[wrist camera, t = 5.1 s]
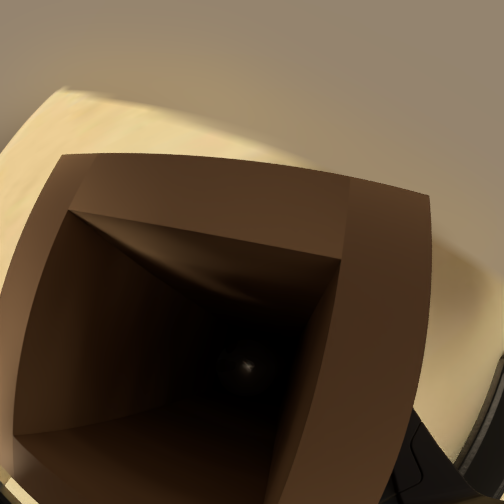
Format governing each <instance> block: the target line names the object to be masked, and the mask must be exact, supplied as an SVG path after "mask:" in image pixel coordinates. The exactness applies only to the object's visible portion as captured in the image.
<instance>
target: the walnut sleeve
mask: <svg viewBox="0 0 504 504" xmlns="http://www.w3.org/2000/svg"><path fill="white" fill-rule="evenodd" d="M431 273H432V234H431V213H430V200H429V196H428V195H424V194H421V193H417V192H414V191H410V190H406V189H402V188H398V187H394V186H390V185H386V184H381V183H377V182H373V181H368V180H363V179H359V178H354V177H349V176H344V175H339V174H334V173H328V172H323V171H317V170H311V169H305V168H299V167H292V166H285V165H278V164H271V163H263V162H255V161H246V160H237V159H227V158H216V157H204V156H190V155H172V154H145V153H92V154H67V155H62V156H61V157H60V159H59V161H58V162H57V164H56V166H55V167H54V169H53V171H52V173H51V174H50V176H49V178H48V180H47V182H46V183H45V185H44V187H43V189H42V191H41V193H40V195H39V197H38V199H37V201H36V203H35V205H34V207H33V209H32V211H31V213H30V215H29V218H28V220H27V222H26V224H25V227H24V229H23V231H22V234H21V236H20V239H19V241H18V244H17V246H16V249H15V252H14V254H13V257H12V260H11V263H10V266H9V268H8V271H7V275H6V278H5V281H4V284H3V288H2V291H1V295H0V465H1V466H2V467H3V468H4V469H5V470H6V471H7V473H8V474H9V475H10V476H11V477H12V478H13V479H14V480H15V481H16V482H17V483H18V484H19V485H20V486H21V487H22V488H23V489H24V490H25V491H26V492H27V493H28V494H29V495H30V496H31V497H32V498H33V499H34V500H36V501H37V502H38V503H39V504H378V503H379V501H380V499H381V496H382V494H383V492H384V490H385V487H386V485H387V483H388V480H389V478H390V475H391V473H392V470H393V468H394V465H395V463H396V460H397V457H398V454H399V451H400V449H401V446H402V443H403V439H404V436H405V433H406V430H407V426H408V423H409V419H410V416H411V412H412V408H413V404H414V400H415V396H416V392H417V387H418V383H419V378H420V373H421V368H422V362H423V356H424V350H425V343H426V336H427V328H428V318H429V308H430V294H431ZM229 325H231V326H235V327H239V328H243V329H247V330H251V331H256V332H260V333H264V334H269V335H273V336H278V337H282V338H287V339H292V340H297V342H296V347H295V351H294V355H293V359H292V363H291V367H290V371H289V375H288V379H287V383H286V386H285V390H284V394H283V398H282V401H281V405H280V407H276V406H272V405H267V404H263V403H259V402H255V401H251V400H247V399H243V398H239V397H236V396H232V395H228V394H225V393H222V392H218V391H215V390H212V386H213V383H214V379H215V375H216V371H217V361H218V358H219V356H220V354H221V352H222V349H223V345H224V342H225V338H226V334H227V331H228V327H229Z"/></svg>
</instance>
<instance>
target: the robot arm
mask: <svg viewBox="0 0 504 504" xmlns="http://www.w3.org/2000/svg"><path fill="white" fill-rule="evenodd" d="M10 478H11V476H10V475H9V474H8V473H7V471H6V470H5V469H4V468H3V467H2V466H1V465H0V504H22V503H21V502H20V501H19V500H18V499H17V498H16V497H15V496H14V495H13V494H12V493H11V492H10V491H9V490H8V489H7V488H6V487H5V484H6V483H7V482H8V480H9V479H10ZM378 504H504V501H502V500H498V499H494V498H491V497H487V496H484V495H482V494H480V493H478V492H477V491H475V490H474V489H473V488H472V487H471V486H470V485H469V484H468V483H467V481H466V480H465V479H464V478H463V476H462V475H461V474H460V472H459V471H458V470H457V469H456V467H455V466H454V465H453V464H452V462H451V461H450V460H449V459H448V457H447V456H446V455H445V453H444V452H443V451H442V449H441V448H440V447H439V446H438V444H437V443H436V441H435V440H434V438H433V437H432V435H431V434H430V433H429V431H428V429H427V428H426V426H425V425H424V423H423V422H421V419H420V417H419V416H418V414H417V413H416V411H415V410H414V408H412V412H411V416H410V419H409V423H408V426H407V430H406V433H405V436H404V439H403V443H402V446H401V449H400V451H399V454H398V457H397V460H396V463H395V465H394V468H393V470H392V473H391V475H390V478H389V480H388V483H387V485H386V487H385V490H384V492H383V494H382V496H381V499H380V501H379V503H378Z"/></svg>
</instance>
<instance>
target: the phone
mask: <svg viewBox="0 0 504 504" xmlns="http://www.w3.org/2000/svg"><path fill="white" fill-rule="evenodd" d="M453 465H454V466H455V467H456V469H457V470H458V471H459V472H460V474H461V475H462V476H463V478H464V479H465V480H466V481H467V483H468V484H469V485H470V486H471V487H472V488H473V489H474V490H475V491H477V492H478V493H480V494H482V495H484V496H487V497H491V498H494V499H498V500H500V498H501V496H502V495H503V493H504V355H503V356H502V357H501V359H500V360H499V362H498V365H497V368H496V371H495V374H494V377H493V380H492V383H491V386H490V388H489V391H488V394H487V396H486V399H485V401H484V404H483V406H482V409H481V411H480V413H479V416H478V418H477V420H476V422H475V425H474V427H473V429H472V431H471V433H470V435H469V437H468V439H467V441H466V443H465V445H464V447H463V448H462V450H461V452H460V454H459V456H458V457H457V459H456V461H455V463H454V464H453Z"/></svg>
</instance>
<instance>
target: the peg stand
mask: <svg viewBox="0 0 504 504" xmlns="http://www.w3.org/2000/svg"><path fill="white" fill-rule="evenodd" d="M296 342H297V340H292V339H287V338H282V337H278V336H273V335H269V334H264V333H260V332H256V331H251V330H247V329H243V328H239V327H235V326H231V325H229V327H228V331H227V334H226V338H225V342H224V345H223V349H222V352H221V354H220V356H219V358H218V361H217V371H216V375H215V379H214V383H213V386H212V390H215V391H218V392H222V393H225V394H228V395H232V396H236V397H239V398H243V399H247V400H251V401H255V402H259V403H263V404H267V405H272V406H276V407H280V405H281V401H282V398H283V394H284V390H285V386H286V383H287V379H288V375H289V371H290V367H291V363H292V359H293V355H294V351H295V347H296Z"/></svg>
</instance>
